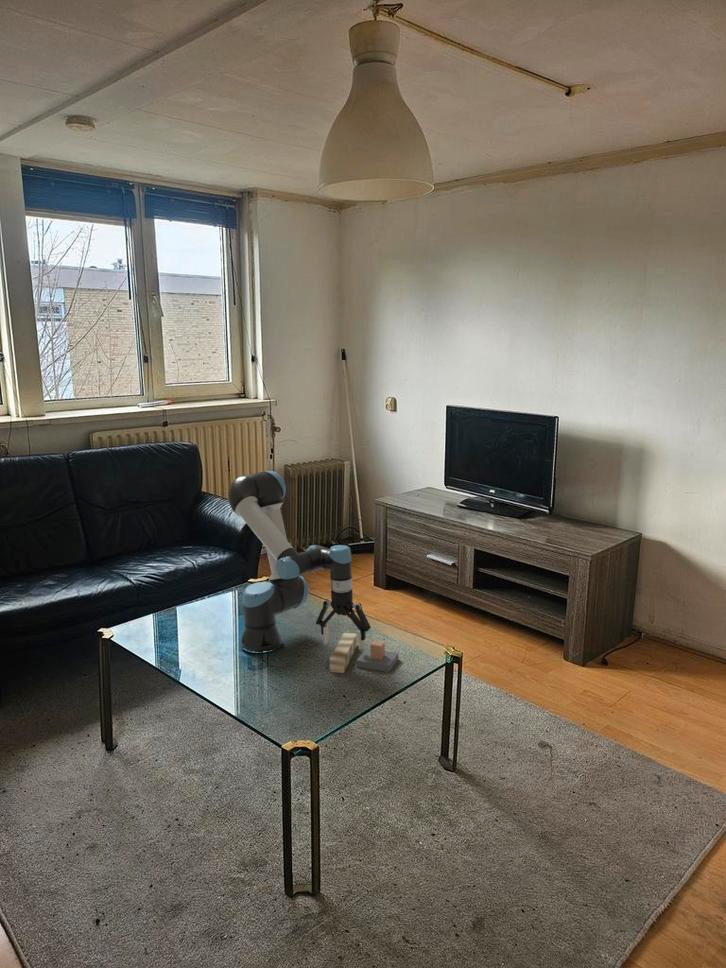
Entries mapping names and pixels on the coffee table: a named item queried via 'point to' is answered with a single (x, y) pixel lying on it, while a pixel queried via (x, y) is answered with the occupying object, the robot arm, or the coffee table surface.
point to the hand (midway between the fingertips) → (343, 645)
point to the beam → (343, 652)
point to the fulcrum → (377, 658)
